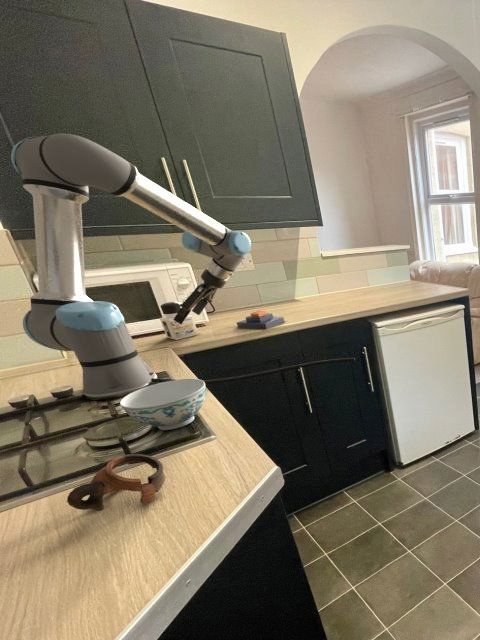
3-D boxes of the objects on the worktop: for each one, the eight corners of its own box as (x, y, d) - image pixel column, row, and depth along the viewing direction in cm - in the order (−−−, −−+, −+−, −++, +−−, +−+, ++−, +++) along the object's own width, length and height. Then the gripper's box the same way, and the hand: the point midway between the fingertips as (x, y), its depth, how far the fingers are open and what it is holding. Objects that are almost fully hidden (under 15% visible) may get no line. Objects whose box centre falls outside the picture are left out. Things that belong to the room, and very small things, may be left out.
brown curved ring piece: (132, 480, 76) (143, 443, 74) (171, 509, 75) (183, 472, 73) (46, 510, 64) (56, 467, 62) (90, 544, 63) (102, 501, 61)
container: (176, 340, 157) (163, 306, 151) (166, 337, 160) (153, 304, 155) (199, 334, 163) (187, 301, 158) (189, 332, 166) (177, 299, 161)
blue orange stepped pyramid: (284, 322, 175) (282, 312, 174) (266, 328, 167) (263, 319, 165) (257, 321, 179) (254, 311, 177) (238, 327, 170) (235, 318, 168)
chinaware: (228, 416, 97) (217, 386, 94) (151, 447, 86) (136, 413, 83) (197, 402, 105) (187, 374, 102) (123, 429, 93) (108, 398, 90)
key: (267, 315, 173) (265, 311, 172) (259, 317, 169) (258, 313, 168) (259, 315, 173) (257, 310, 173) (251, 317, 170) (250, 313, 169)
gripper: (212, 286, 146) (180, 332, 149) (240, 275, 168) (211, 315, 172) (190, 272, 143) (157, 319, 146) (221, 262, 165) (192, 303, 169)
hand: (186, 317), depth 159 cm, fingers open, 13 cm apart
